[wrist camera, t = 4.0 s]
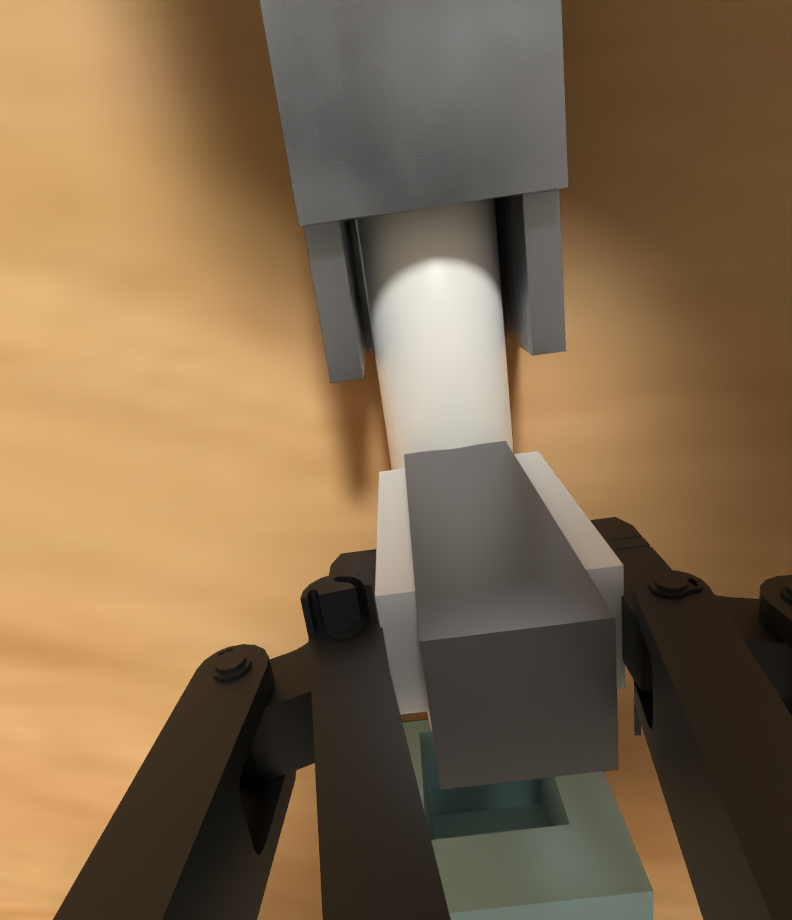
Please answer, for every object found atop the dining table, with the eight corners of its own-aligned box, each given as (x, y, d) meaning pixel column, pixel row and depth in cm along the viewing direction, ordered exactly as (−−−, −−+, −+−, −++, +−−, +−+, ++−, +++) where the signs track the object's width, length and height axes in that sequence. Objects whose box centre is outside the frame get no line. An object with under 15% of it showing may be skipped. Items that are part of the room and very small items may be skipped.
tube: (296, -21, 18) (57, -735, 5) (485, -51, 18) (757, -874, 5) (405, 674, 26) (424, 1094, 13) (535, 658, 26) (684, 1068, 13)
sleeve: (279, -52, 18) (222, -211, 12) (493, -86, 18) (551, -267, 12) (344, 349, 22) (327, 389, 16) (520, 325, 22) (574, 355, 15)
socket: (376, 725, 28) (372, 921, 19) (574, 701, 27) (653, 890, 19) (394, 822, 29) (397, 1037, 21) (579, 801, 29) (652, 1011, 21)
